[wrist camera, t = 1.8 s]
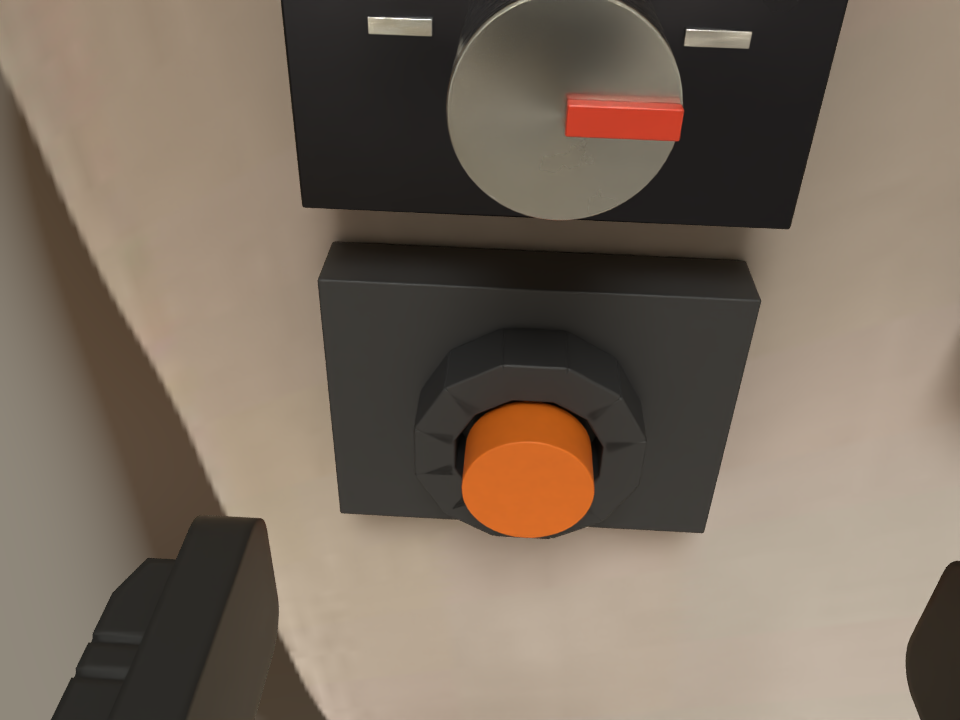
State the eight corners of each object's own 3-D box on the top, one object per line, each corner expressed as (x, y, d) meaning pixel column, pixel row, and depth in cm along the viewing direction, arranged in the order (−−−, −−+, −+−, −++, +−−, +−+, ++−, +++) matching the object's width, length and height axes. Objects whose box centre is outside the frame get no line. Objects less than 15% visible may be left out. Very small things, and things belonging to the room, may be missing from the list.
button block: (351, 468, 31) (329, 555, 28) (332, 241, 26) (302, 315, 22) (694, 487, 31) (713, 577, 27) (746, 259, 25) (776, 338, 22)
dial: (463, 117, 20) (443, 224, 16) (466, -74, 18) (443, -11, 14) (639, 125, 20) (666, 234, 16) (664, -67, 18) (705, -1, 13)
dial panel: (325, 160, 24) (300, 211, 22) (291, -234, 19) (253, -228, 16) (764, 179, 24) (791, 233, 21) (855, -217, 19) (906, -209, 16)
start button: (464, 491, 26) (460, 535, 25) (466, 397, 24) (461, 438, 23) (585, 498, 26) (587, 542, 25) (597, 403, 24) (601, 446, 23)
